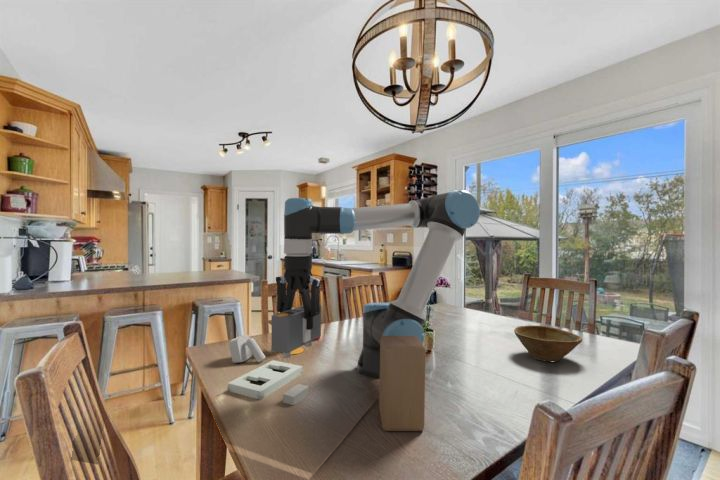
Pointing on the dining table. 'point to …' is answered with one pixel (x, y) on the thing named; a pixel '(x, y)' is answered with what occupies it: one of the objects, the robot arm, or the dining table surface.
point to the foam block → (295, 394)
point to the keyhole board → (265, 379)
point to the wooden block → (402, 383)
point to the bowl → (547, 341)
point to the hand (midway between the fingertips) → (297, 339)
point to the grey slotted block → (292, 330)
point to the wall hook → (244, 349)
